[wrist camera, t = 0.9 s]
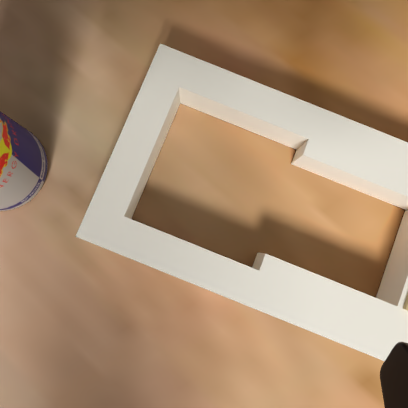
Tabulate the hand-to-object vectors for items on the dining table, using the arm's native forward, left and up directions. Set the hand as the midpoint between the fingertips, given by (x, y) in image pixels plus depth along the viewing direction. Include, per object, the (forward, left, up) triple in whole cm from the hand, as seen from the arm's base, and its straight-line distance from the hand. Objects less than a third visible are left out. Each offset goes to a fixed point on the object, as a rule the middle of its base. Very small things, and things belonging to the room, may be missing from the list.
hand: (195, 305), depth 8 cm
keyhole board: (+6, +3, -15) cm, 16 cm away
